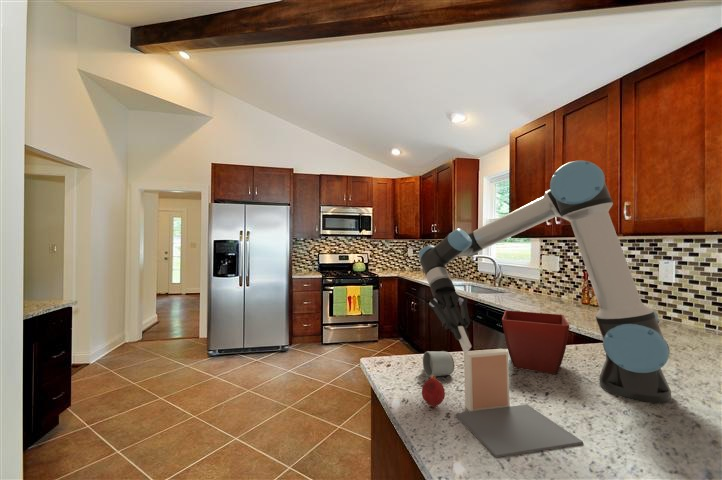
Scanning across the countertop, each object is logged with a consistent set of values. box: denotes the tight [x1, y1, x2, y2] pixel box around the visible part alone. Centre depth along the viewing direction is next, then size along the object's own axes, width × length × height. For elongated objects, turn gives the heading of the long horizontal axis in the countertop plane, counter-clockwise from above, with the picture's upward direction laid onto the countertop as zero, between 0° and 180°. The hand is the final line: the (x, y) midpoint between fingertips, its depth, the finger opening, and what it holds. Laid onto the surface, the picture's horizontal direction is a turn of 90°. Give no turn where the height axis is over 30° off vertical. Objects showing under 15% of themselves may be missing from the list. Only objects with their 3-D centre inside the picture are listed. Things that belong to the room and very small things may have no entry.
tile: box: [463, 348, 511, 412], centre depth 80 cm, size 11×3×14 cm, turn 101°
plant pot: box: [501, 309, 570, 375], centre depth 108 cm, size 19×19×17 cm
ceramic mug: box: [422, 350, 455, 378], centre depth 102 cm, size 11×8×8 cm
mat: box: [454, 403, 584, 459], centre depth 70 cm, size 16×20×1 cm
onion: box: [421, 375, 446, 408], centre depth 80 cm, size 6×6×8 cm
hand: (467, 349), depth 88 cm, fingers closed
